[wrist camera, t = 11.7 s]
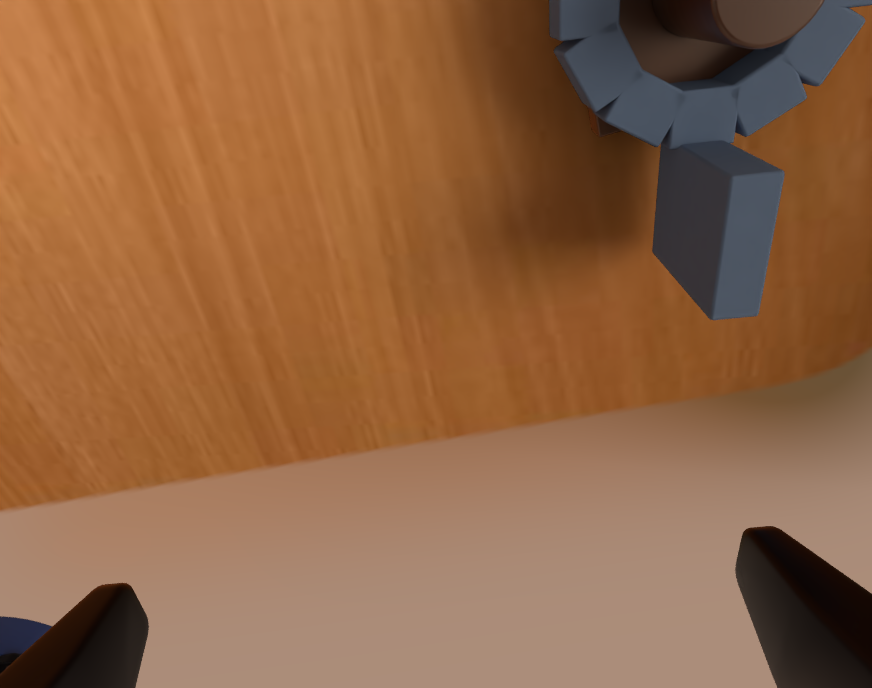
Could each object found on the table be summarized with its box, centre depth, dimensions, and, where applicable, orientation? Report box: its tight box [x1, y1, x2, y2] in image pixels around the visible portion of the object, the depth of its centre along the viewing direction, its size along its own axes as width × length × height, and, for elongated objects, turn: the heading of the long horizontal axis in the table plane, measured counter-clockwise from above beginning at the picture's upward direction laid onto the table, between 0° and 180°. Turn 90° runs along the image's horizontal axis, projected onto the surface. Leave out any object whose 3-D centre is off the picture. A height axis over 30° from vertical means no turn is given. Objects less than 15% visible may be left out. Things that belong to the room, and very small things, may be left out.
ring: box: [549, 0, 872, 320], centre depth 12 cm, size 9×6×4 cm
